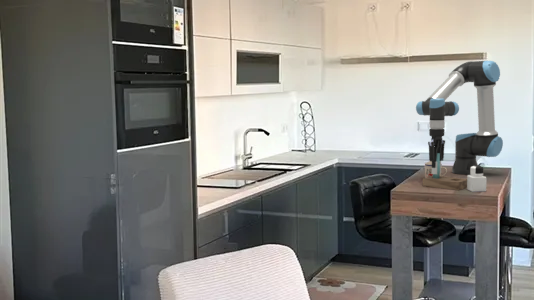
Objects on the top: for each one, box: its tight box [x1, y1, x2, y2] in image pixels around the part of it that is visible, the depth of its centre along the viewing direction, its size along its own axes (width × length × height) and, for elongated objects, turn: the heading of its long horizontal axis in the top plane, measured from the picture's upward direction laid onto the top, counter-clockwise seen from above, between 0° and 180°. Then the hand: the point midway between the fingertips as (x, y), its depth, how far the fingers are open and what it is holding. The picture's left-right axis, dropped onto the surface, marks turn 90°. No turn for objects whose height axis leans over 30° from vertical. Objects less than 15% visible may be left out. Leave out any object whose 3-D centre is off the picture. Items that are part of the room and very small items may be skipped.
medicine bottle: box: [466, 165, 487, 193], centre depth 307 cm, size 7×7×12 cm
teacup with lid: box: [424, 160, 448, 178], centre depth 341 cm, size 12×9×12 cm
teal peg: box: [433, 153, 440, 179], centre depth 323 cm, size 3×3×15 cm
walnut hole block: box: [422, 176, 467, 191], centre depth 320 cm, size 12×20×4 cm, turn 45°
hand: (436, 173), depth 323 cm, fingers closed on teal peg, 3 cm apart
